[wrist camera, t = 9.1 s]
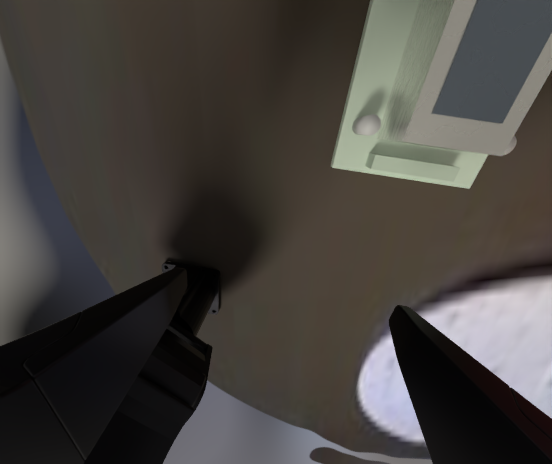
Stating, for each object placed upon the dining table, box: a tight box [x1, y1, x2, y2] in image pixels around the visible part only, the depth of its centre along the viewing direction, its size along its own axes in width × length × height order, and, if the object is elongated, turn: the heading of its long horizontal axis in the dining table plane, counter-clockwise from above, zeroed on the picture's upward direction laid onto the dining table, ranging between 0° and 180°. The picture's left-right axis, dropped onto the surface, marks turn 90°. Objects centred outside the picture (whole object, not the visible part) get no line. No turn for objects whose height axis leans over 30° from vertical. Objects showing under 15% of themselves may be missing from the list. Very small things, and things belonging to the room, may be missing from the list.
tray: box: [330, 0, 517, 189], centre depth 13 cm, size 14×11×4 cm
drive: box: [376, 0, 552, 156], centre depth 12 cm, size 9×6×5 cm, turn 172°
